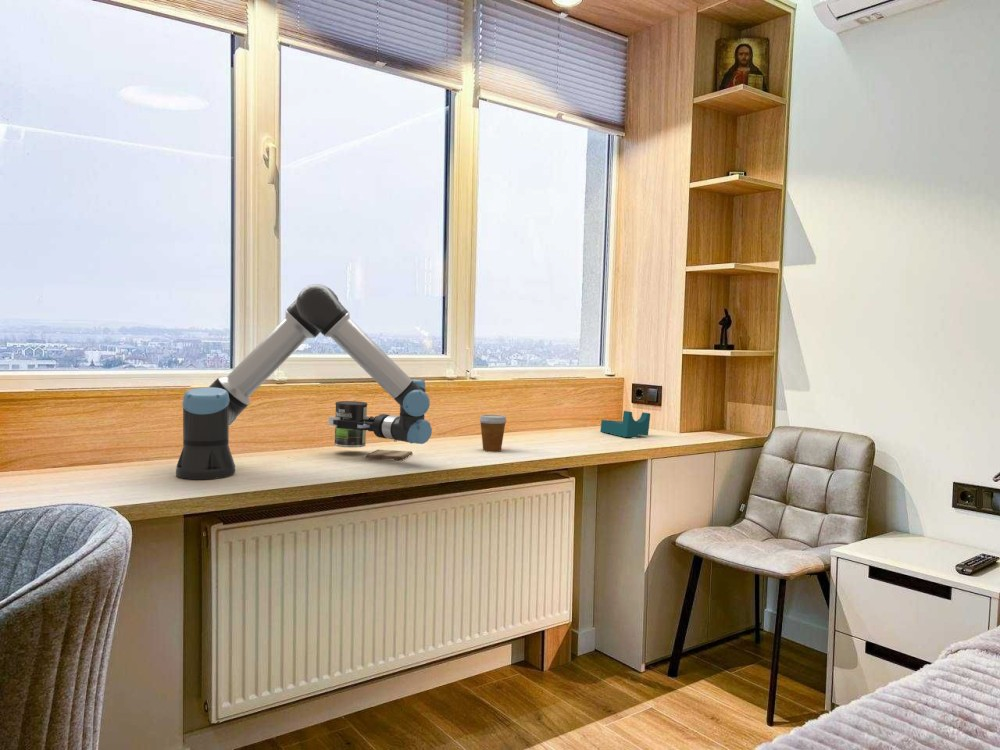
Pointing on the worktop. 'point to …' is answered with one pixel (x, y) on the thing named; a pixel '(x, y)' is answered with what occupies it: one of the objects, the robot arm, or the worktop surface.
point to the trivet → (389, 454)
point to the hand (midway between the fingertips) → (342, 419)
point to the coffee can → (350, 412)
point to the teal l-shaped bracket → (627, 425)
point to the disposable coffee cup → (492, 431)
